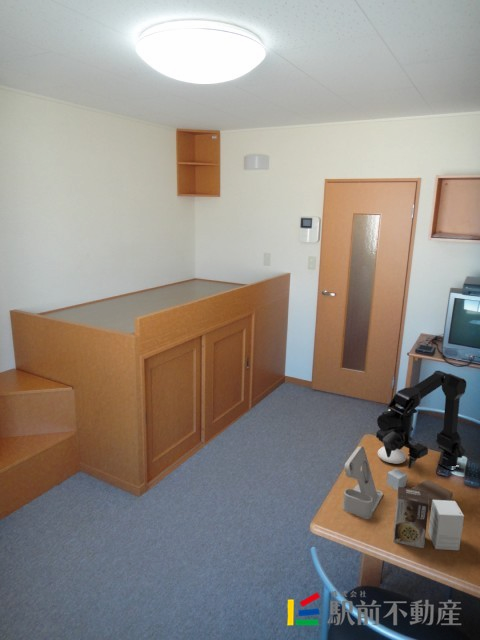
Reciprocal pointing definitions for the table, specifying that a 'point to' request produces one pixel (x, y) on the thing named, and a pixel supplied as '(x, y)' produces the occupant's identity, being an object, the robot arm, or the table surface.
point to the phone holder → (360, 486)
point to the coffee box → (411, 517)
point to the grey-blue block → (396, 478)
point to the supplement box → (445, 525)
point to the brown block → (434, 491)
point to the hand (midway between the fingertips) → (398, 462)
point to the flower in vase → (392, 455)
